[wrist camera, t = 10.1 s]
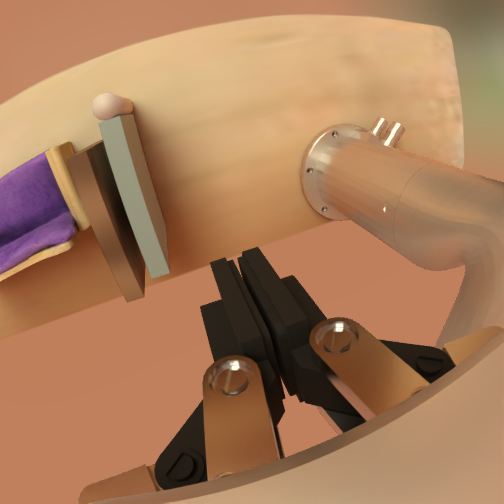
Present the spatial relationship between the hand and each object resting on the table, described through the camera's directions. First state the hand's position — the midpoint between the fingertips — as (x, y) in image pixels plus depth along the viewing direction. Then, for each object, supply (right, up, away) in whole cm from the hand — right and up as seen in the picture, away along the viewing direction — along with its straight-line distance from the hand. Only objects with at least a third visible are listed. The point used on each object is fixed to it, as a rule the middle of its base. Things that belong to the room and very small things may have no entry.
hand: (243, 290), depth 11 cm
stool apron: (-14, +8, +21) cm, 26 cm away
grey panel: (-12, +10, +20) cm, 25 cm away
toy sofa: (-27, +6, +18) cm, 33 cm away
